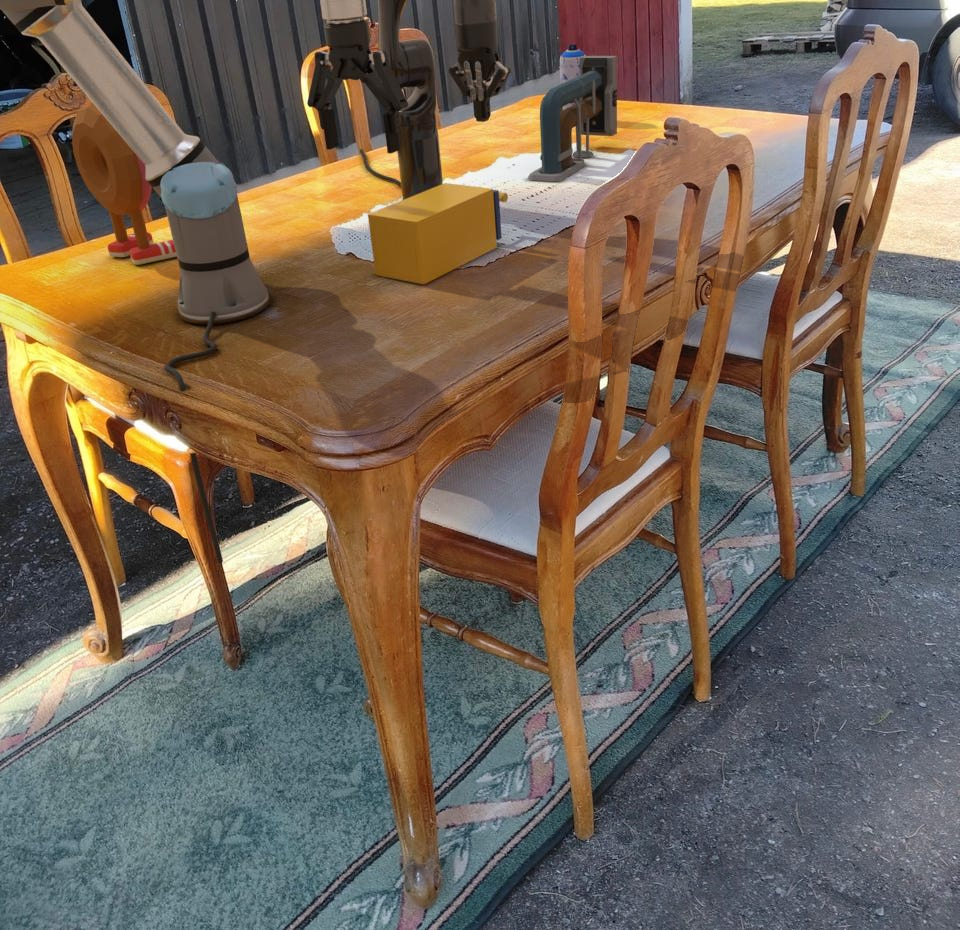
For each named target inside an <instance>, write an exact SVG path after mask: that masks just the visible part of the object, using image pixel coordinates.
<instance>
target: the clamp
mask: <svg viewBox="0 0 960 930" xmlns="http://www.w3.org/2000/svg"><path fill="white" fill-rule="evenodd" d="M569 103H575V105H573V106H571V107H569V108H567V109H565V110H563V106H565V105H567V104H569ZM539 127H540V128H539V130H540V153H541V154H540V157H539V159H540V161H541V167H539V168H537V169H535V170H533V171H532V172H530V173H529V174H528V177H527V180H530V181H543V182H544V181H545V182H561V181H563V180H564V179H566V178H567V177H569V176H571V175H573V174H574V173H576V172H578V171H579V170H581V169H582V168H583V167H585V166H586V165H587V164H586V162H585V159H584V158H588V159H589V158H591V157H593V156H594V152H593V151H591V150H590V136H599V137H614V136H616V135H617V134H618V57H617V55H586V56H583V57H581V58H580V76H578V77H576V78H574V79H572V80H569V81H567V82H565V83H563V84H561V85H560V84H558V85H557V86H554V87H552V88H550V89H549V90H548V92H547V93H545V95H544V96H543V97H542V99H541V101H540V106H539ZM573 128H575V145H576V146H575V148H576V150H575V151H574V150H573V140H572V139H573V137H572V133H573V132H572V131H573ZM582 136H585V150H583V149H582Z"/></svg>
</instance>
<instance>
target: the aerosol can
mask: <svg viewBox="0 0 960 930" xmlns="http://www.w3.org/2000/svg"><path fill="white" fill-rule="evenodd" d="M583 56H587V55H586V54H585V52H584V51H583V50H581V49H579V48H578V44H577V43H574V44H568V48H567V49H566V50H565V51H563V52H562V53H561V55H560V56H559V79H560V81H559V83H560V84H559V85H561V84H563V83H565V82H567V81H569V80H572V79H574V78H576V77H578V76H580V58H581V57H583ZM573 105H575V103H569V104H567V105H565V106H563V110H565V109H567V108H569V107H571V106H573Z"/></svg>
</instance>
